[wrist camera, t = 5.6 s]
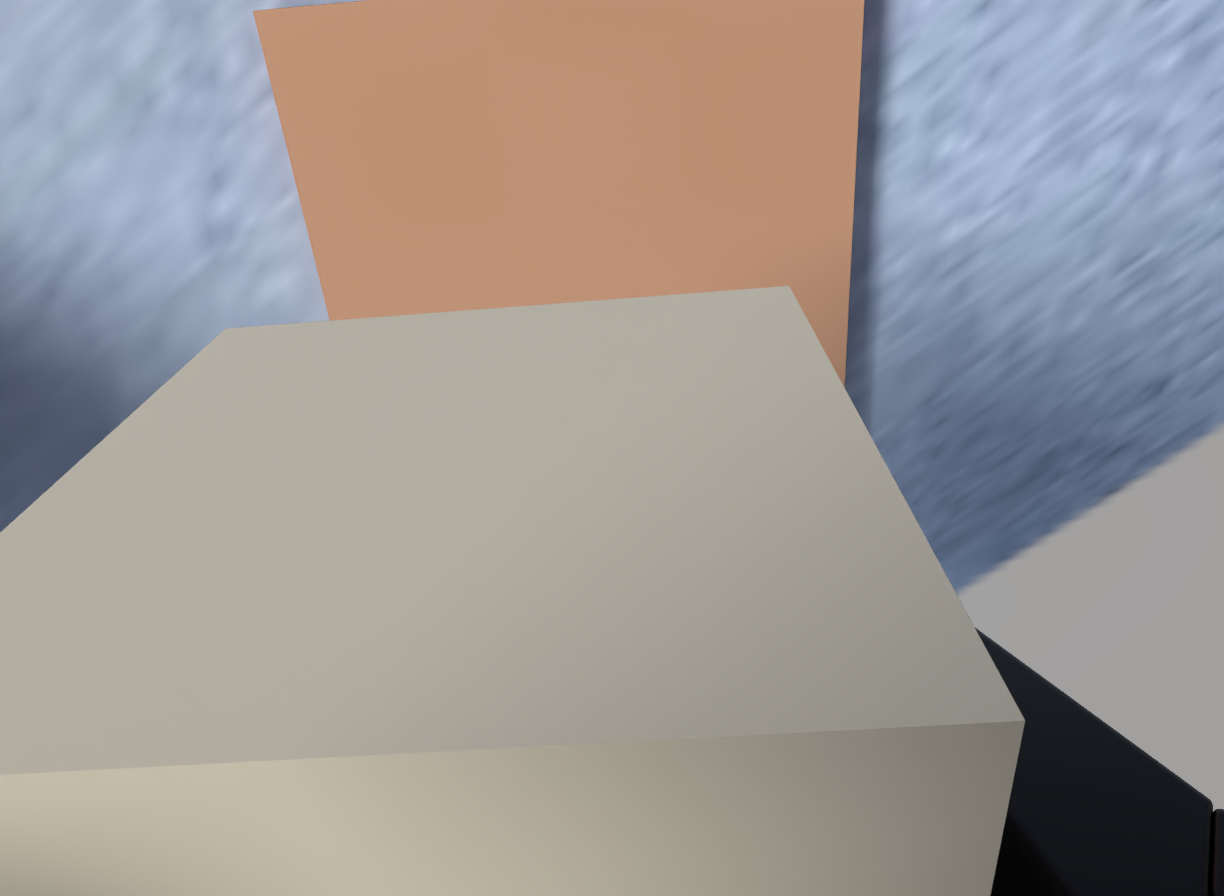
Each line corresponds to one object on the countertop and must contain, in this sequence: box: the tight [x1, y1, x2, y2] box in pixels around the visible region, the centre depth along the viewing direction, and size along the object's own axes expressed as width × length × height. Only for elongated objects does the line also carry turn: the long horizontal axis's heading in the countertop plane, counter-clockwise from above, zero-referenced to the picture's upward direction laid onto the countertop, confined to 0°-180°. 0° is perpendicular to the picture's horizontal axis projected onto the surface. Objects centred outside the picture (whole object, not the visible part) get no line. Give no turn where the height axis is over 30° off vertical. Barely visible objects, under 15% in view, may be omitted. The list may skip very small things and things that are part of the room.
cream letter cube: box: [0, 286, 1025, 896], centre depth 7 cm, size 5×5×5 cm
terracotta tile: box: [253, 0, 864, 388], centre depth 17 cm, size 10×10×1 cm
